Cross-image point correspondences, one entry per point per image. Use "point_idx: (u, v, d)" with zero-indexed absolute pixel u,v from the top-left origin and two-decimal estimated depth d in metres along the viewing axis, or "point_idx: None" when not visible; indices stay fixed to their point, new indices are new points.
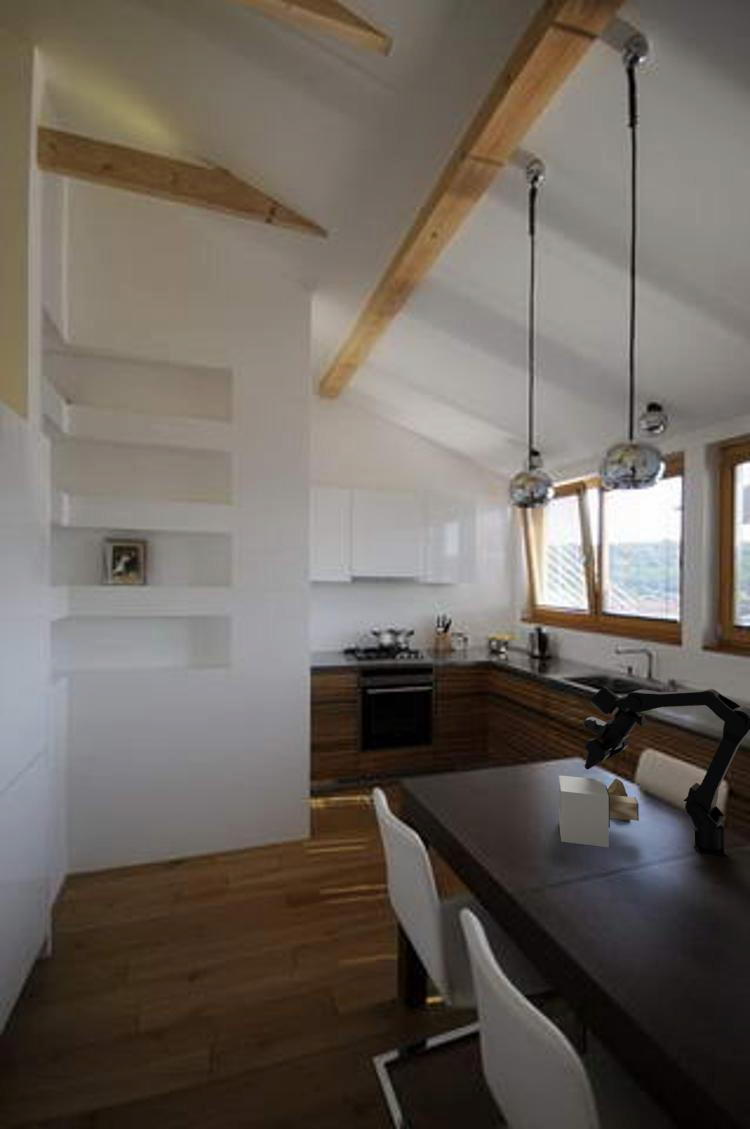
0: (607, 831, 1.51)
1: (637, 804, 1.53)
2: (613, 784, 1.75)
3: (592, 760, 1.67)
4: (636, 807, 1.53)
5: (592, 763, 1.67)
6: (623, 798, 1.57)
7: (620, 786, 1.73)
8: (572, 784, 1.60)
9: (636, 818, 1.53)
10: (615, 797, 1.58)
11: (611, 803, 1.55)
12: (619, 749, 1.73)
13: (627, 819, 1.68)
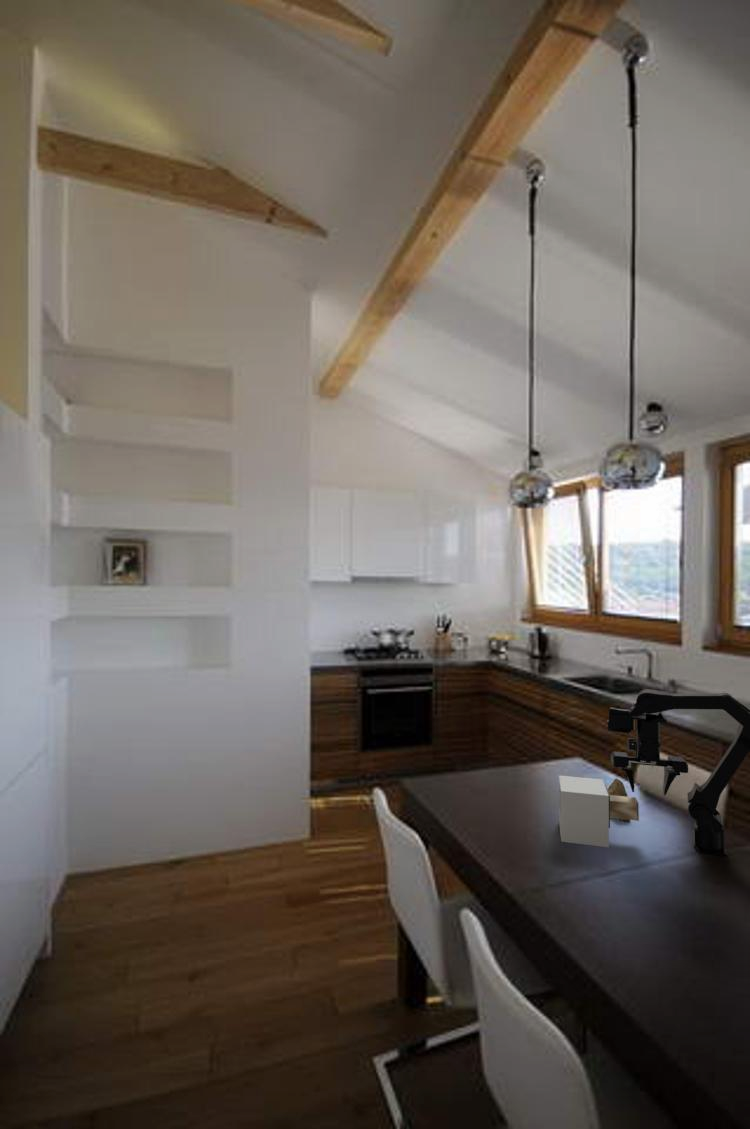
0: (607, 831, 1.51)
1: (637, 804, 1.53)
2: (613, 784, 1.75)
3: None
4: (636, 807, 1.53)
5: None
6: (623, 798, 1.57)
7: (620, 786, 1.73)
8: (572, 784, 1.60)
9: (636, 818, 1.53)
10: (615, 797, 1.58)
11: (611, 803, 1.55)
12: (672, 772, 1.54)
13: (627, 819, 1.68)
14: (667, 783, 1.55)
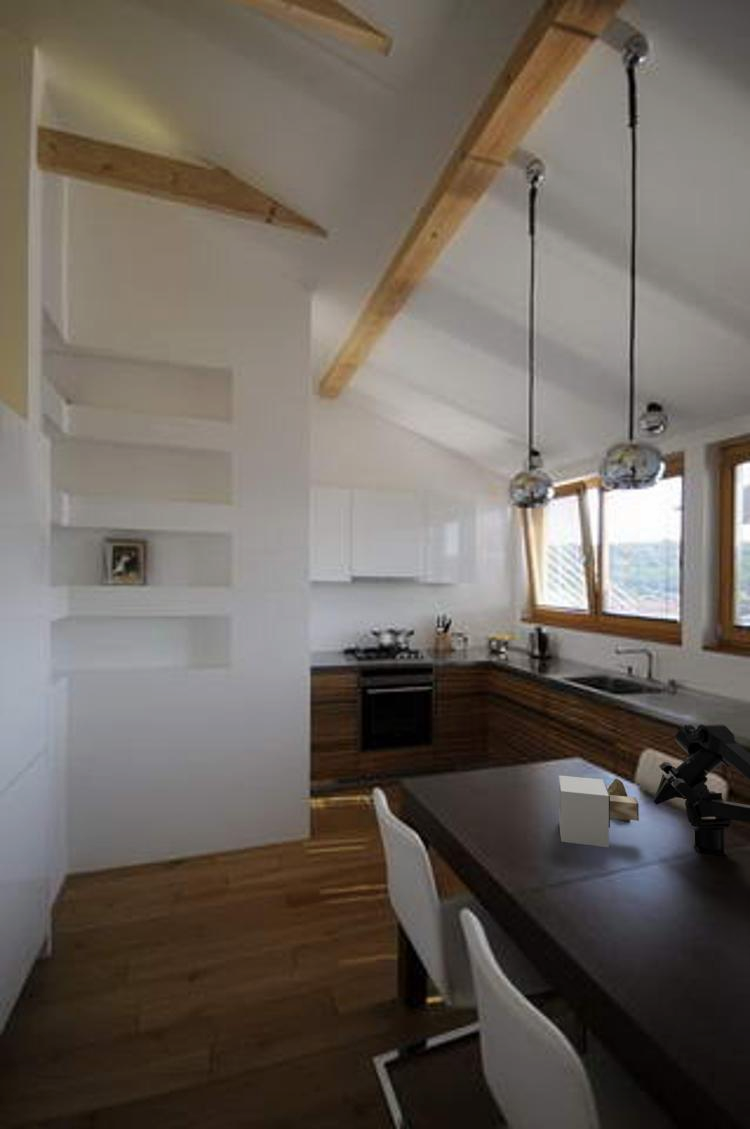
0: (607, 831, 1.51)
1: (637, 804, 1.53)
2: (613, 784, 1.75)
3: None
4: (636, 807, 1.53)
5: None
6: (623, 798, 1.57)
7: (620, 786, 1.73)
8: (572, 784, 1.60)
9: (636, 818, 1.53)
10: (615, 797, 1.58)
11: (611, 803, 1.55)
12: None
13: (627, 819, 1.68)
14: (660, 789, 1.54)
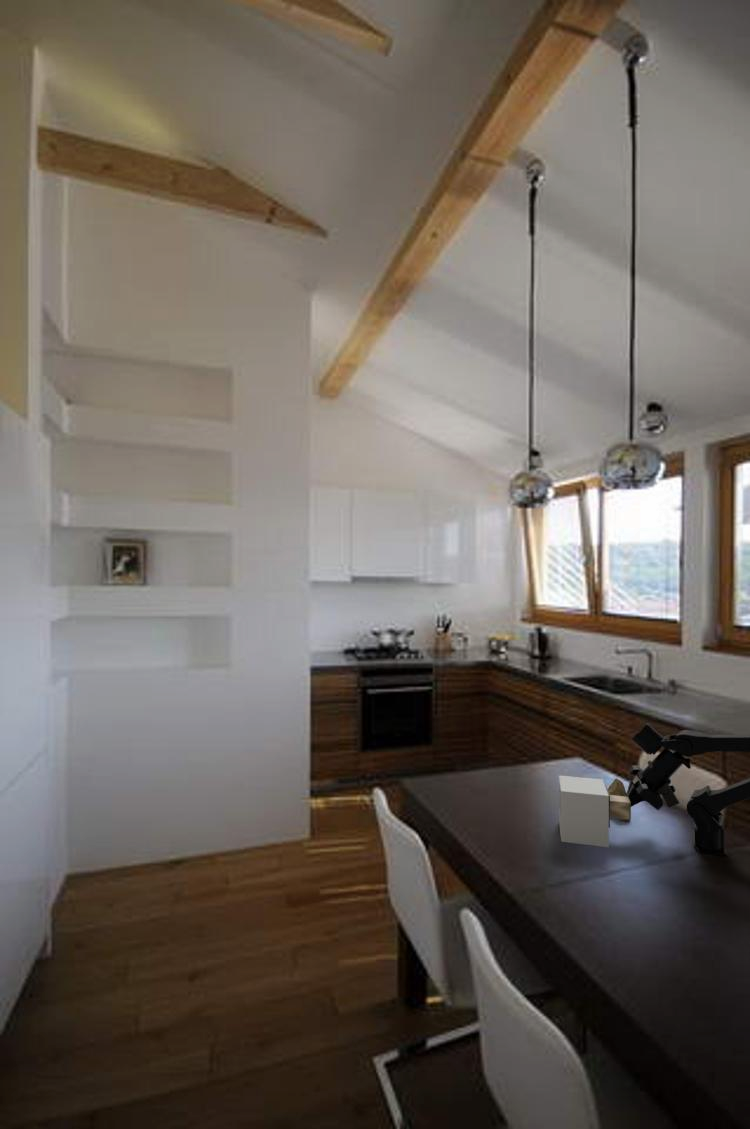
0: (607, 831, 1.51)
1: (629, 803, 1.54)
2: (613, 784, 1.75)
3: None
4: (628, 806, 1.54)
5: None
6: (615, 797, 1.58)
7: (620, 786, 1.73)
8: (572, 784, 1.60)
9: (628, 817, 1.54)
10: None
11: None
12: (635, 786, 1.58)
13: (627, 819, 1.68)
14: (628, 794, 1.59)
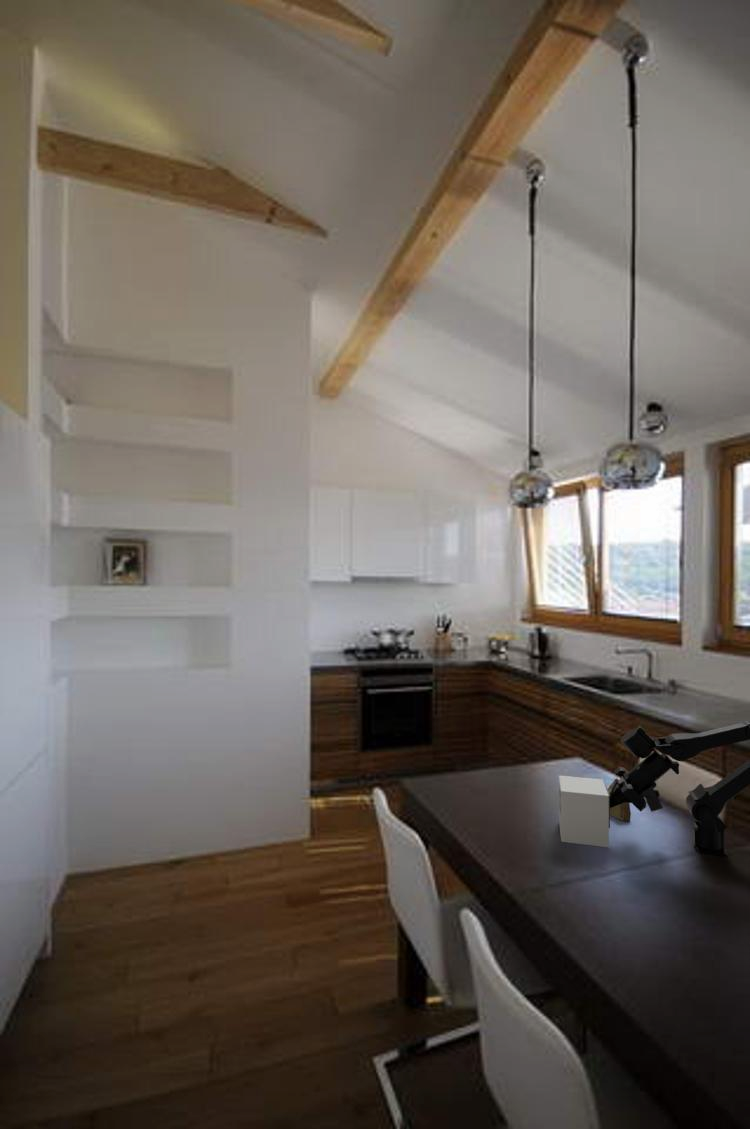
0: (607, 831, 1.51)
1: None
2: None
3: None
4: None
5: None
6: None
7: None
8: (572, 784, 1.60)
9: None
10: None
11: None
12: (619, 786, 1.55)
13: (627, 819, 1.68)
14: (611, 793, 1.57)
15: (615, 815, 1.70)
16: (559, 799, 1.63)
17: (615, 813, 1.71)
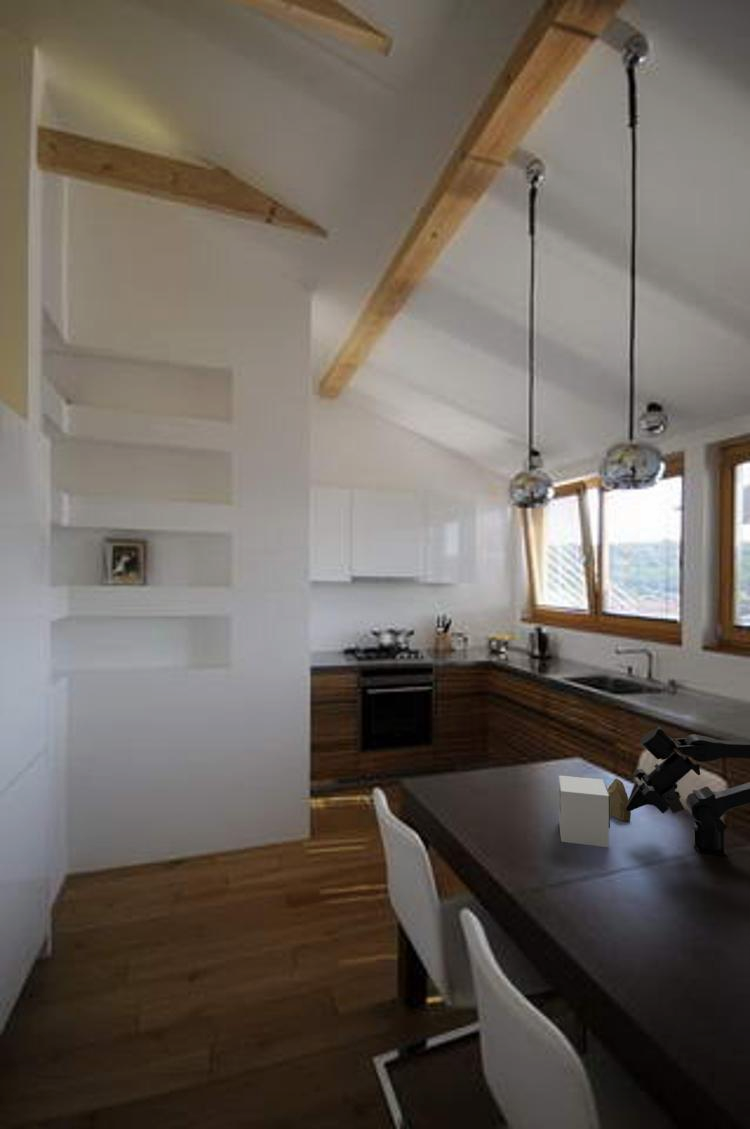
0: (607, 831, 1.51)
1: None
2: (613, 784, 1.75)
3: None
4: None
5: None
6: None
7: (620, 786, 1.73)
8: (572, 784, 1.60)
9: None
10: None
11: None
12: (640, 788, 1.54)
13: (627, 819, 1.68)
14: (632, 796, 1.55)
15: (615, 815, 1.70)
16: (559, 799, 1.63)
17: (615, 813, 1.71)
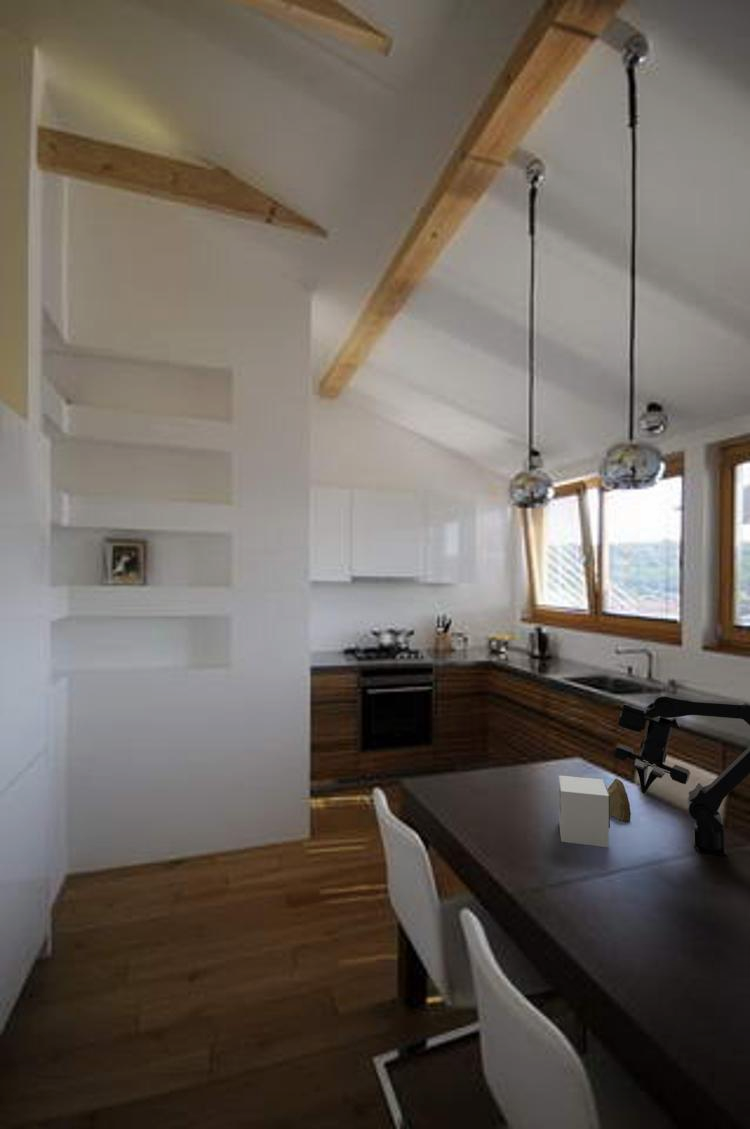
0: (607, 831, 1.51)
1: None
2: (613, 784, 1.75)
3: None
4: None
5: None
6: None
7: (620, 786, 1.73)
8: (572, 784, 1.60)
9: None
10: None
11: None
12: (654, 773, 1.55)
13: (627, 819, 1.68)
14: (647, 782, 1.56)
15: (615, 815, 1.70)
16: (559, 799, 1.63)
17: (615, 813, 1.71)
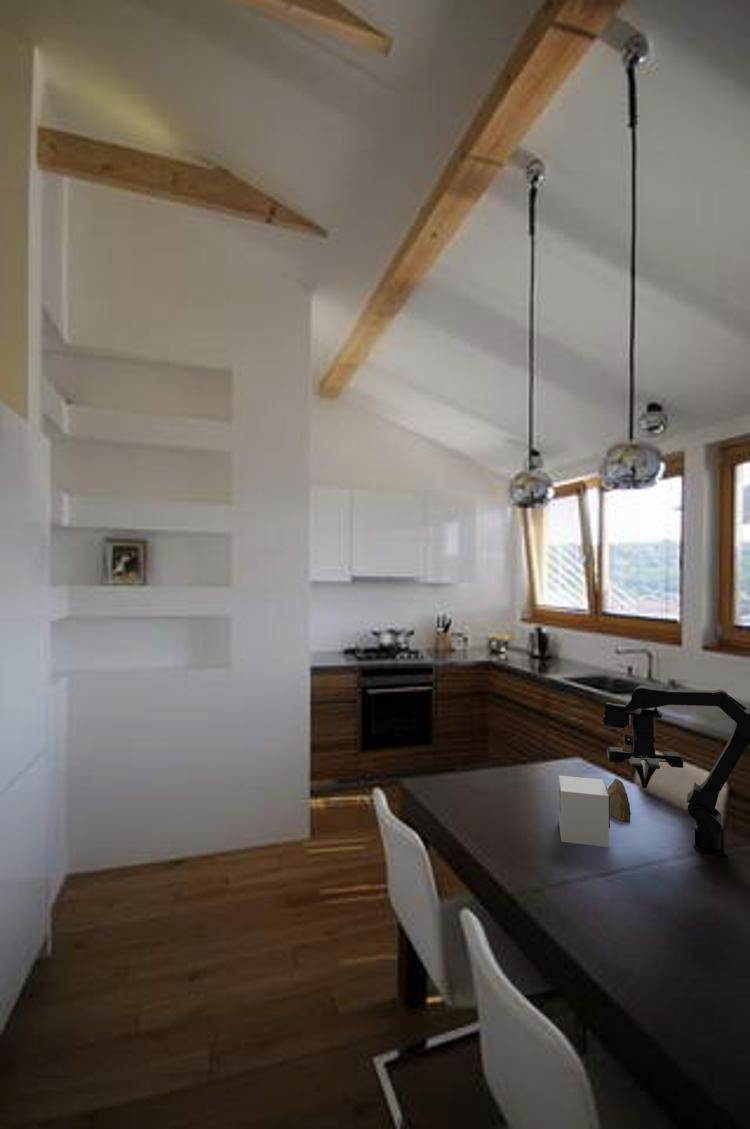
0: (607, 831, 1.51)
1: None
2: (613, 784, 1.75)
3: (638, 773, 1.59)
4: None
5: (639, 776, 1.58)
6: None
7: (620, 786, 1.73)
8: (572, 784, 1.60)
9: None
10: None
11: None
12: (652, 766, 1.56)
13: (627, 819, 1.68)
14: (647, 776, 1.57)
15: (615, 815, 1.70)
16: (559, 799, 1.63)
17: (615, 813, 1.71)
